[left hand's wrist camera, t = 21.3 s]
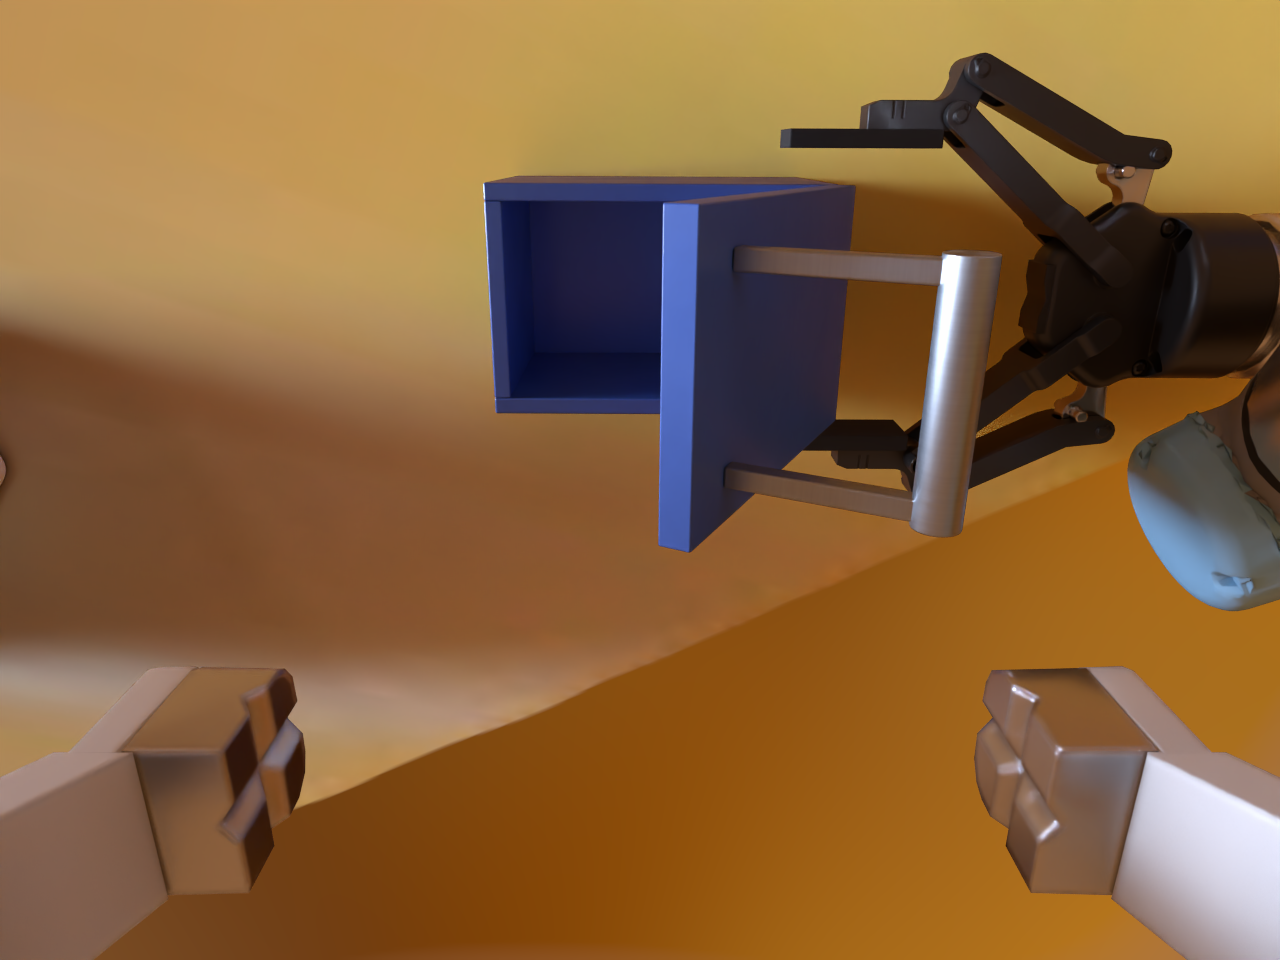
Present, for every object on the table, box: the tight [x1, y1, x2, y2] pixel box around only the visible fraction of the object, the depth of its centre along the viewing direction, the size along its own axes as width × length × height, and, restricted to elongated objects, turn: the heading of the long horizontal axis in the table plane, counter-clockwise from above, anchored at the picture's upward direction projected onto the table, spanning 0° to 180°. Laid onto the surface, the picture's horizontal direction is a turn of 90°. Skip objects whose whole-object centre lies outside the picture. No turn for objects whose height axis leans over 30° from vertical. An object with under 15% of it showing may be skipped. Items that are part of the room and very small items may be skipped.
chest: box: [483, 176, 838, 414], centre depth 42 cm, size 15×10×10 cm
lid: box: [659, 185, 1002, 552], centre depth 29 cm, size 15×10×8 cm
